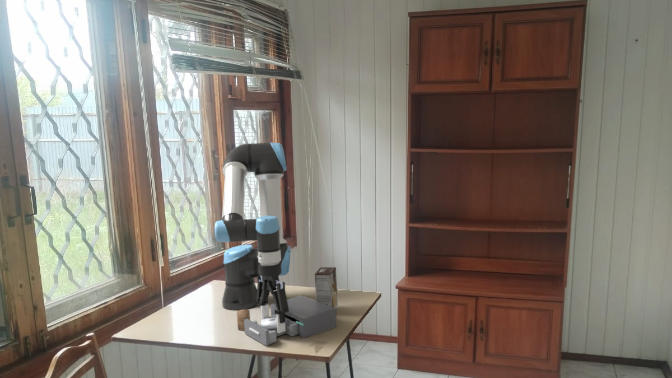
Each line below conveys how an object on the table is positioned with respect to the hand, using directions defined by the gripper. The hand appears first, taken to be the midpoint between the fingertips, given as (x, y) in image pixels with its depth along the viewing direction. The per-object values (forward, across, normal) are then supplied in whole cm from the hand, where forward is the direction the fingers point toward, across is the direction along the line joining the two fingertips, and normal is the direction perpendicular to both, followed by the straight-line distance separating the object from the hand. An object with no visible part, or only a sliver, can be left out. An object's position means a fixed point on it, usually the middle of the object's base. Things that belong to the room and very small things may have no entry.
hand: (273, 327), depth 167 cm
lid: (-1, 0, 0) cm, 1 cm away
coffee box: (+3, -4, +26) cm, 27 cm away
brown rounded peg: (+2, -12, -5) cm, 13 cm away
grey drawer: (+2, 0, -1) cm, 2 cm away
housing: (+2, 0, +12) cm, 13 cm away
